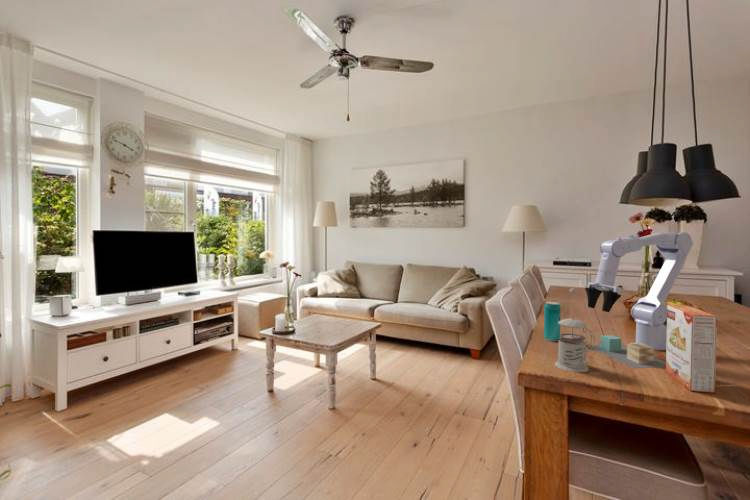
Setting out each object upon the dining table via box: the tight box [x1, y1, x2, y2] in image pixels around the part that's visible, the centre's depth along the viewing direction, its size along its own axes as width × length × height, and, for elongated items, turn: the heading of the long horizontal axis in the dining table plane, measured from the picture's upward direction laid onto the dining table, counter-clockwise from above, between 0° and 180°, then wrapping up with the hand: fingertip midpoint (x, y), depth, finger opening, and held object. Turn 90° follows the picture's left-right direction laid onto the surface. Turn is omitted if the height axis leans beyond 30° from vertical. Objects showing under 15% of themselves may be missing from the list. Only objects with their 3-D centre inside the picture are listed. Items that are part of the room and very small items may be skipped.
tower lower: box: [627, 351, 655, 364], centre depth 121 cm, size 5×5×2 cm
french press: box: [554, 287, 596, 373], centre depth 116 cm, size 10×12×25 cm
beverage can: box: [543, 301, 562, 342], centre depth 145 cm, size 6×6×15 cm
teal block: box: [600, 334, 622, 352], centre depth 133 cm, size 4×4×4 cm
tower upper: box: [626, 342, 655, 356], centre depth 121 cm, size 5×5×2 cm
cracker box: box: [665, 304, 718, 394], centre depth 103 cm, size 14×6×21 cm, turn 163°
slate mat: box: [586, 344, 666, 369], centre depth 126 cm, size 14×23×1 cm, turn 5°
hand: (598, 309), depth 132 cm, fingers open, 7 cm apart
